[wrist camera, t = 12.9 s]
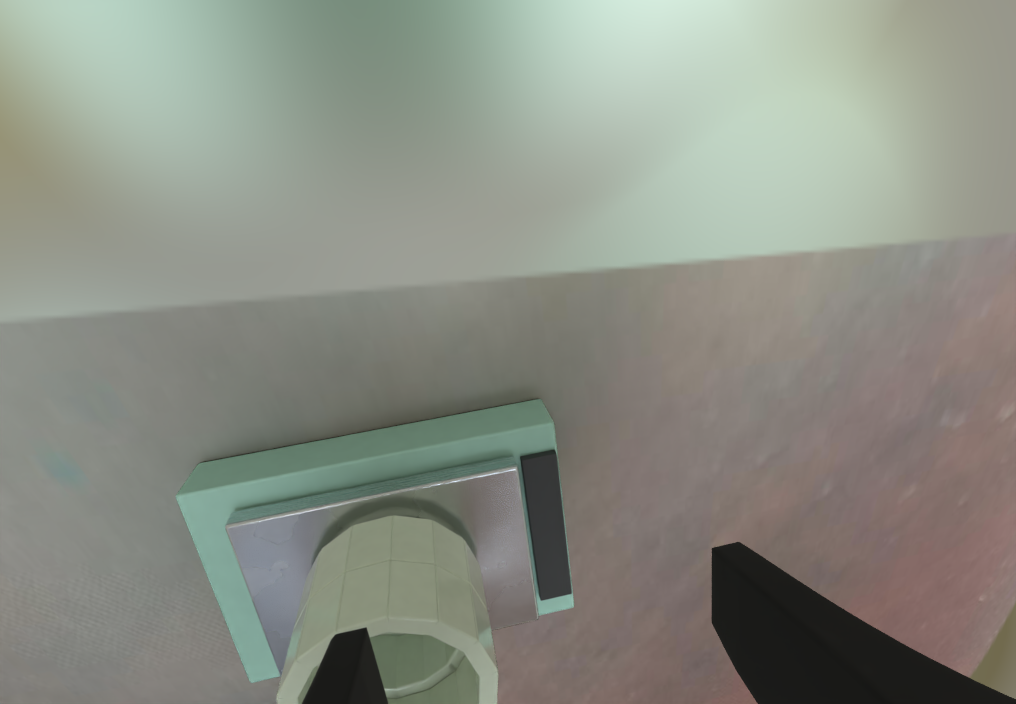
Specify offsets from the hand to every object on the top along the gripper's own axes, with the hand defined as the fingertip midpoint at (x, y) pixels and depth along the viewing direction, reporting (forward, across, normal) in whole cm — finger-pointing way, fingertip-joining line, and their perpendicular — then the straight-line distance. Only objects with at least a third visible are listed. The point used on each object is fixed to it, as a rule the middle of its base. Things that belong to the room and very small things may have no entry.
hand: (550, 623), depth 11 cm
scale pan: (+7, +4, +3) cm, 9 cm away
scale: (+9, +4, +4) cm, 11 cm away
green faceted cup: (+6, +4, +4) cm, 8 cm away
